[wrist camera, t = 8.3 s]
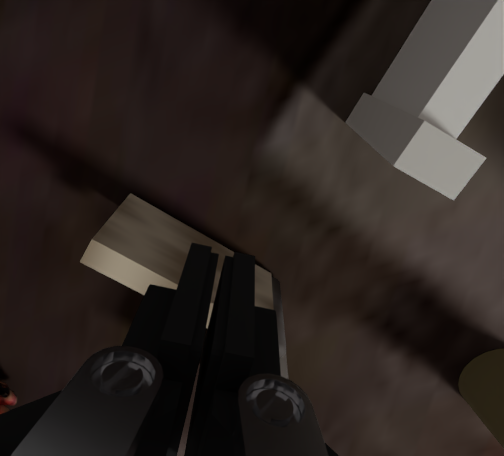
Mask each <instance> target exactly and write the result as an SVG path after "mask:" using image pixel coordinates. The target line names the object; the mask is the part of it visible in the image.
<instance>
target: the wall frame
mask: <svg viewBox="0 0 504 456" xmlns="http://www.w3.org/2000/svg"><path fill="white" fill-rule="evenodd" d="M503 74H504V0H431V2H430V3H429V5H428V6H427V8H426V9H425V11H424V13H423V14H422V16H421V17H420V19H419V21H418V22H417V24H416V25H415V27H414V29H413V30H412V32H411V33H410V35H409V37H408V38H407V40H406V41H405V43H404V45H403V46H402V48H401V49H400V51H399V52H398V54H397V56H396V57H395V59H394V60H393V62H392V64H391V65H390V67H389V68H388V70H387V72H386V73H385V75H384V76H383V78H382V80H381V81H380V83H379V84H378V86H377V88H376V89H375V91H374V92H373V94H372V95H368V94H366V93H363V94H362V96H361V98H360V99H359V101H358V103H357V104H356V106H355V107H354V109H353V111H352V112H351V114H350V115H349V117H348V119H347V120H346V122H345V123H346V124H347V125H348V126H350V127H351V128H352V129H353V130H354V131H355V132H356V133H357V134H358V135H359V136H361V137H362V138H363V139H364V140H365V141H366V142H367V143H368V144H369V145H371V146H372V147H373V148H374V149H375V150H376V151H377V152H378V153H379V154H380V155H382V156H383V157H384V158H385V159H386V160H387V161H388V162H389V163H390V164H392V165H393V166H394V167H396V168H398V169H399V170H401V171H403V172H405V173H406V174H408V175H410V176H412V177H413V178H415V179H417V180H419V181H420V182H422V183H424V184H426V185H427V186H429V187H431V188H433V189H434V190H436V191H438V192H440V193H441V194H443V195H445V196H447V197H449V198H450V199H452V200H454V199H455V198H456V197H457V196H458V194H459V193H460V192H461V190H462V189H463V188H464V187H465V185H466V184H467V183H468V181H469V180H470V179H471V177H472V176H473V175H474V174H475V172H476V171H477V170H478V168H479V167H480V166H481V165H482V163H483V162H484V161H485V159H486V157H484V156H482V155H481V154H479V153H477V152H476V151H474V150H472V149H471V148H469V147H467V146H466V145H464V144H462V143H461V142H459V141H458V140H456V139H457V137H458V136H459V135H460V133H461V132H462V130H463V129H464V128H465V126H466V125H467V124H468V122H469V121H470V120H471V118H472V117H473V115H474V114H475V113H476V111H477V110H478V109H479V107H480V106H481V105H482V103H483V102H484V100H485V99H486V98H487V96H488V95H489V94H490V92H491V91H492V89H493V88H494V87H495V85H496V84H497V83H498V81H499V80H500V79H501V77H502V76H503ZM280 369H281V376H282V377H284V378H286V379H288V371H287V361H286V354H285V355H284V356H283V357H282V358H280Z"/></svg>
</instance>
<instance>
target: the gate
mask: <svg viewBox="0 0 504 456" xmlns="http://www.w3.org/2000/svg"><path fill="white" fill-rule="evenodd" d="M191 243H197V244H201V245H206V246H210V247H212V250H211V252H212V253H217V254H219V257H218V263H217V268H216V274H215V280H214V286H213V291H212V297H211V303H210V308H209V314H208V320H207V325H206V328H208V325H209V321H210V317H211V312H212V308H213V304H214V300H215V296H216V292H217V288H218V283H219V279H220V275H221V271H222V267H223V263H224V259H225V255H226V256H231V257H233V255H234V252H233V251H231V250H229V249H228V248H226V247H224V246H222V245H221V244H219V243H217V242H215V241H214V240H212V239H210V238H208V237H207V236H205V235H203V234H201V233H200V232H198V231H196V230H194V229H193V228H191V227H189V226H187V225H185V224H184V223H182V222H180V221H178V220H177V219H175V218H173V217H171V216H170V215H168V214H166V213H164V212H163V211H161V210H159V209H157V208H156V207H154V206H152V205H150V204H149V203H147V202H145V201H143V200H142V199H140V198H138V197H136V196H135V195H133V194H131V193H130V194H129V195H128V197H127V198H126V199H125V200H124V201H123V203H122V204H121V205H120V206H119V207H118V209H117V210H116V211H115V212H114V213H113V215H112V216H111V217H110V218H109V219H108V221H107V222H106V223H105V224H104V225H103V227H102V228H101V229H100V230H99V231H98V233H97V234H96V235H95V236H94V237H93V239H92V240H91V242H90V244H89V246H88V248H87V249H86V251H85V253H84V255H83V257H82V259H81V261H80V262H81V263H83V264H85V265H87V266H89V267H91V268H93V269H94V270H96V271H98V272H100V273H102V274H104V275H106V276H108V277H110V278H112V279H114V280H116V281H118V282H119V283H121V284H123V285H125V286H127V287H129V288H131V289H133V290H135V291H137V292H139V293H141V294H143V295H145V293H146V291H147V288H148V286H149V285H150V284H152V285H157V286H162V287H167V288H171V289H177V286H178V283H179V280H180V277H181V274H182V271H183V268H184V265H185V262H186V259H187V255H188V252H189V249H190V246H191ZM255 306H258V307H263V308H267V309H272V310H275V311H276V316H277V329H278V342H279V356H280V358H282V357H283V356H284V355H285V354H286V342H285V331H284V321H283V311H282V301H281V290H280V282H279V281H278V279H276V278H274V277H271V273H270V272H268V271H266V270H264V269H263V268H261V267H259V266H257V265H256V264H255Z"/></svg>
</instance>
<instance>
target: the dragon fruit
mask: <svg viewBox="0 0 504 456" xmlns="http://www.w3.org/2000/svg"><path fill="white" fill-rule="evenodd" d="M0 390H2V391H4V392H6V393H7V394H8V396H6V395H0V414H2V413H5V412H7V411H10V409H9V408H8V407H7V406H5V405H12V406H13V405H15V404H16V402H17V396H16V395H15V394H14V393H13V391H11V389H10V388H8V385H7V384H6V383H4V382H1V381H0Z"/></svg>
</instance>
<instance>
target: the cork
mask: <svg viewBox="0 0 504 456" xmlns="http://www.w3.org/2000/svg"><path fill="white" fill-rule="evenodd" d="M458 387H459V391H460V394H461V395H462V397H463V398H464V399H465V400H466V402H467V403H468V404H469V405H470V407H471V408H472V409H473V410H474V412H475V413H476V414H477V415H478V417H479V418H480V419H481V420H482V422H483V423H484V424H485V425H486V427H487V428H488V429H489V430H490V432H491V433H492V434H493V435H494V437H495V438H496V439H497V440H498V442H499V443H500V444H501V445H502V447H503V448H504V349H496V350H492V351H488V352H485V353H483V354H481V355H479V356H478V357H476V358H474V359H473V360H472V361H471V362H470V363H468V364H467V365H466V366H465V368H464V369H463V371H462V373H461V374H460V377H459V382H458Z"/></svg>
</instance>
